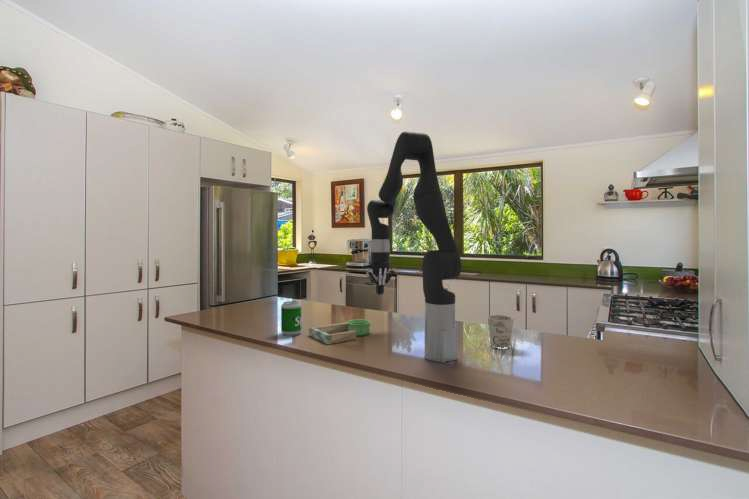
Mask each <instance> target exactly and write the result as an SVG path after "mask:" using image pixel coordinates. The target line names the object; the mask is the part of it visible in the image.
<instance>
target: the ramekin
mask: <svg viewBox="0 0 749 499" xmlns="http://www.w3.org/2000/svg"><path fill="white" fill-rule="evenodd" d="M346 322H347V324H348V331H353V330H354V331H356V336H366V335H368V334H369V333H370V330H371V329H370V327H371V320H367V319H360V318H359V319H350V320H348V321H346Z"/></svg>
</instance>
